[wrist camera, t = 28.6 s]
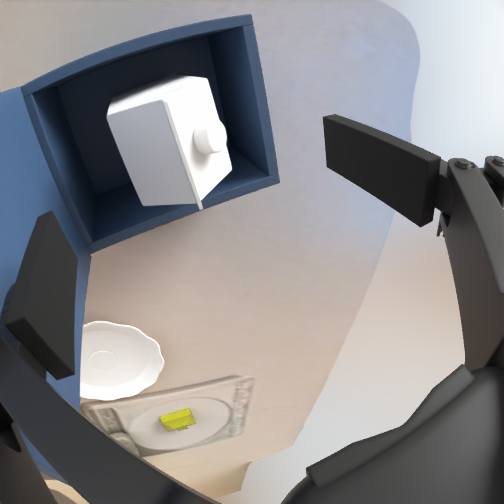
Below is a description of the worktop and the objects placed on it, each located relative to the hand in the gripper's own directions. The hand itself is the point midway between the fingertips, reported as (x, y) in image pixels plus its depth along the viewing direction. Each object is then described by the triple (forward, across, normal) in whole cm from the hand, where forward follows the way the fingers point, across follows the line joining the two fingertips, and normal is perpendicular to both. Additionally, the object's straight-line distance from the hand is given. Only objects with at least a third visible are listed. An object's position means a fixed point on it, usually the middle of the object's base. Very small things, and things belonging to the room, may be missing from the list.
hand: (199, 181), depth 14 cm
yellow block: (+24, -17, -62) cm, 69 cm away
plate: (+25, -21, -34) cm, 47 cm away
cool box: (+25, 0, 0) cm, 25 cm away
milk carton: (+24, 0, 0) cm, 24 cm away
